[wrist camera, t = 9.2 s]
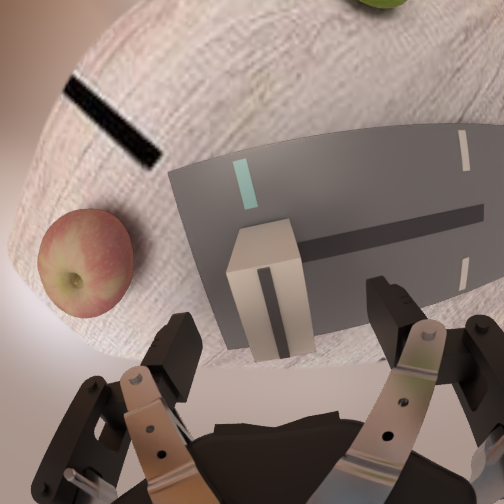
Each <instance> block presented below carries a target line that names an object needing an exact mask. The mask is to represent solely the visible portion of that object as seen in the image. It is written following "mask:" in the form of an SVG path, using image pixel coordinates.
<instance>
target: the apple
mask: <svg viewBox="0 0 504 504" xmlns="http://www.w3.org/2000/svg"><path fill="white" fill-rule="evenodd" d="M133 267H134V258H133V248H132V243H131V240H130V237H129V234H128V232H127V230H126V229H125V227H124V226H123V224H122V223H121V221H119V220H118V219H117V218H116V217H115V216H113V215H112V214H110V213H108V212H105V211H102V210H97V209H80V210H75V211H72V212H69V213H67V214H65V215H63V216H62V217H60V218H59V219H58V220H57V221H55V222H54V223H53V224H52V225H51V226H50V227H49V229H48V230H47V232H46V233H45V235H44V237H43V239H42V242H41V246H40V250H39V254H38V271H39V274H40V278H41V281H42V284H43V287H44V289H45V291H46V293H47V295H48V296H49V298H50V299H51V300H52V302H53V303H54V304H55V305H56V306H57V307H58V308H59V309H61V310H62V311H64V312H65V313H67V314H69V315H71V316H74V317H78V318H92V317H97V316H99V315H102V314H104V313H105V312H107V311H109V310H110V309H112V308H113V307H114V306H115V305H116V304H117V303H118V302H119V301H120V300H121V299H122V297H123V296H124V294H125V292H126V291H127V289H128V287H129V285H130V283H131V280H132V276H133Z"/></svg>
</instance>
